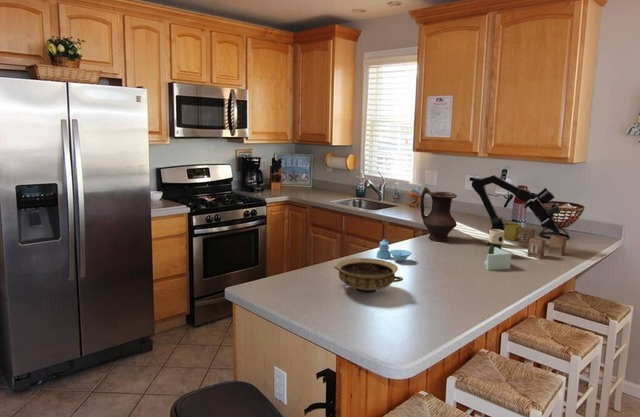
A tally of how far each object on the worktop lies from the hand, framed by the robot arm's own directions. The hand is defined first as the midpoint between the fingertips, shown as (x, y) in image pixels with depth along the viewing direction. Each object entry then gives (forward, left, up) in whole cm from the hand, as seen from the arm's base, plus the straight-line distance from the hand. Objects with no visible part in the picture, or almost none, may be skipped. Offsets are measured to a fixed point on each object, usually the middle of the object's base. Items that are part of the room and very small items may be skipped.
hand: (559, 232), depth 253 cm
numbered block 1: (+7, +19, -11) cm, 23 cm away
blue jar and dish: (-77, +49, -11) cm, 92 cm away
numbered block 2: (-15, +5, -11) cm, 20 cm away
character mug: (-30, +20, -11) cm, 38 cm away
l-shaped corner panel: (-49, +13, -12) cm, 52 cm away
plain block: (0, 0, -11) cm, 11 cm away
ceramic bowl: (-121, +30, -11) cm, 125 cm away
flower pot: (+12, +30, -11) cm, 34 cm away
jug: (-23, +58, -11) cm, 63 cm away
